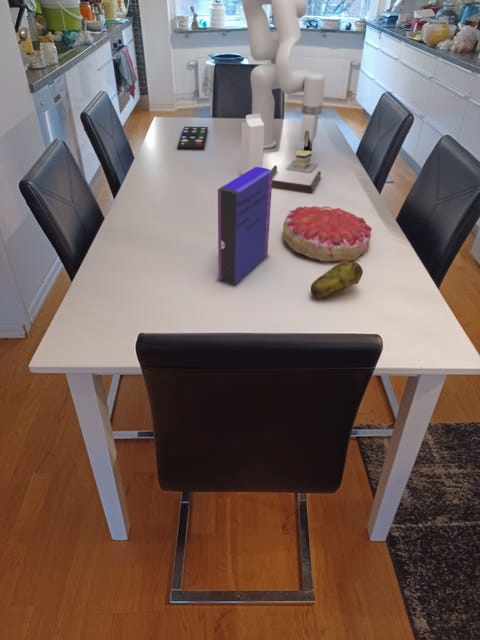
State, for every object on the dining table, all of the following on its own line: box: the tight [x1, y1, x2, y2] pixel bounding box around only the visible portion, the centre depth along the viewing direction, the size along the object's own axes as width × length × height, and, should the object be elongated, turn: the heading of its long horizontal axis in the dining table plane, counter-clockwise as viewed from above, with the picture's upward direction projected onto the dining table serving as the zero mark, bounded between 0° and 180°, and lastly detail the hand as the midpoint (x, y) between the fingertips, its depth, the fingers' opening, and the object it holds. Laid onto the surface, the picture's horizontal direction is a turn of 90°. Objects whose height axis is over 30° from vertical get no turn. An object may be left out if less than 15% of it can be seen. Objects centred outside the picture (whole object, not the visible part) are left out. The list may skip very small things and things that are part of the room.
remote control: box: [177, 126, 209, 151], centre depth 210 cm, size 11×30×2 cm, turn 0°
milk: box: [240, 113, 264, 176], centre depth 168 cm, size 6×6×22 cm
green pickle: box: [310, 260, 364, 299], centre depth 111 cm, size 8×13×8 cm, turn 96°
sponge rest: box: [270, 165, 322, 194], centre depth 170 cm, size 16×18×2 cm
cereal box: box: [217, 167, 274, 286], centre depth 115 cm, size 17×5×24 cm, turn 150°
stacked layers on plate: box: [287, 149, 317, 173], centre depth 183 cm, size 10×9×6 cm
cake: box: [281, 205, 373, 262], centre depth 132 cm, size 25×25×8 cm
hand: (306, 157), depth 189 cm, fingers closed
